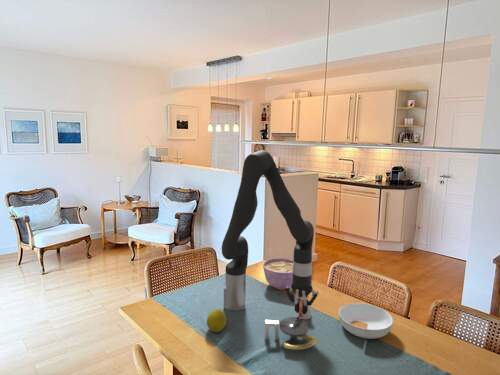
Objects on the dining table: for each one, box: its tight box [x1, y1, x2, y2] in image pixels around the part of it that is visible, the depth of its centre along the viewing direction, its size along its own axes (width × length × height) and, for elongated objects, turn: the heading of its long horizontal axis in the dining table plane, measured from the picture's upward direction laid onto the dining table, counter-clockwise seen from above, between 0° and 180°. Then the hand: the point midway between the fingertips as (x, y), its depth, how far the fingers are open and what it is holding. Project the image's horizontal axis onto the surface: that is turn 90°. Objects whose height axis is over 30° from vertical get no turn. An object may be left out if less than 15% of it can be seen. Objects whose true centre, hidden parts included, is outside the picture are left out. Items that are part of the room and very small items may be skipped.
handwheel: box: [279, 297, 318, 350], centre depth 129 cm, size 18×15×13 cm
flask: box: [296, 295, 313, 320], centre depth 148 cm, size 7×7×10 cm
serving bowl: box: [338, 302, 394, 340], centre depth 139 cm, size 21×21×7 cm
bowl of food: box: [262, 257, 294, 290], centre depth 178 cm, size 20×20×12 cm
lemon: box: [206, 308, 227, 333], centre depth 139 cm, size 11×8×8 cm
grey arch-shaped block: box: [264, 319, 280, 341], centre depth 131 cm, size 5×2×7 cm, turn 86°
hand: (301, 312), depth 136 cm, fingers closed on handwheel, 2 cm apart
